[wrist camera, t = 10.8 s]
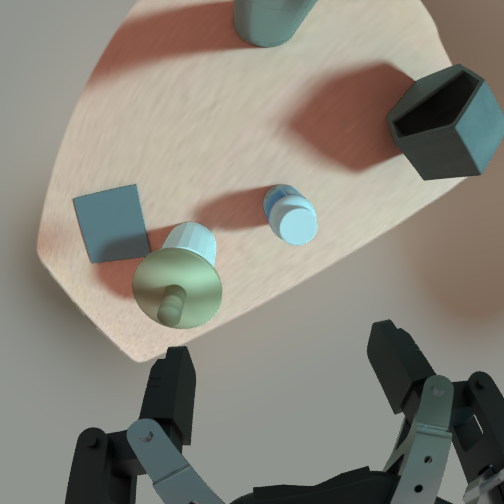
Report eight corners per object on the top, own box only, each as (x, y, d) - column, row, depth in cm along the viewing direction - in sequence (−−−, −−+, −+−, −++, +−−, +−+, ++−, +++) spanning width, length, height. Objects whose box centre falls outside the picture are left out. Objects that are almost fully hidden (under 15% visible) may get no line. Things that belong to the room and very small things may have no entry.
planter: (447, 57, 27) (504, 92, 15) (471, 91, 30) (527, 146, 17) (382, 106, 40) (399, 163, 28) (408, 136, 42) (430, 205, 30)
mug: (154, 275, 46) (139, 309, 37) (176, 213, 42) (162, 237, 33) (197, 292, 48) (190, 328, 39) (224, 233, 44) (221, 261, 35)
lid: (124, 253, 33) (106, 276, 28) (213, 241, 34) (210, 265, 28) (149, 325, 38) (139, 354, 33) (228, 319, 39) (227, 350, 33)
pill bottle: (270, 227, 44) (281, 258, 33) (257, 191, 41) (265, 212, 31) (306, 214, 43) (328, 242, 33) (295, 178, 41) (316, 195, 30)
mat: (74, 197, 39) (73, 198, 38) (136, 184, 39) (134, 184, 39) (93, 261, 44) (91, 263, 44) (151, 254, 44) (150, 256, 44)
